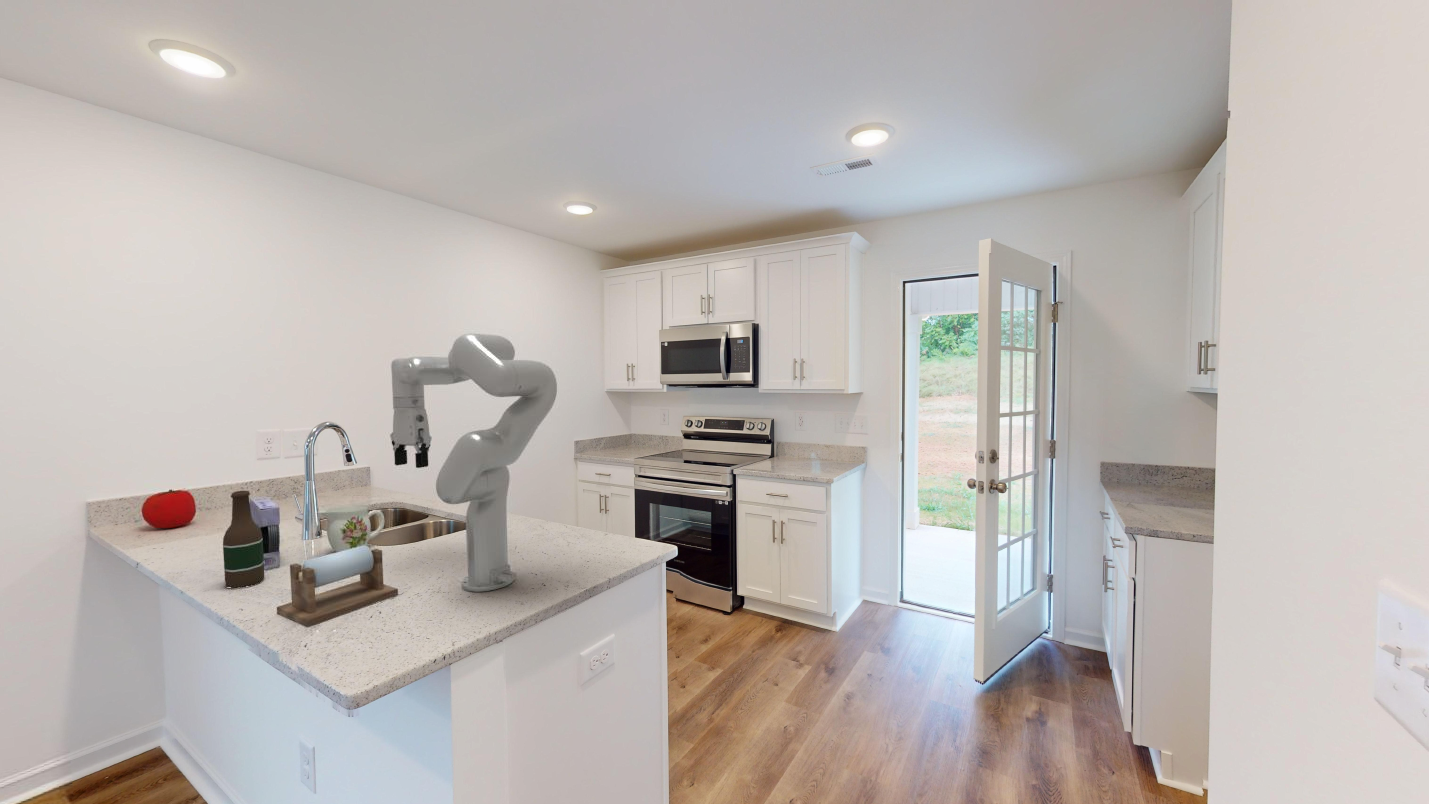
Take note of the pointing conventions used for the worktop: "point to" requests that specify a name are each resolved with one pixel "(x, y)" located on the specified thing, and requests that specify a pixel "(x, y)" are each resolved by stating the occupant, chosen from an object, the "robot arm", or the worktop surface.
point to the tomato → (169, 509)
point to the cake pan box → (267, 529)
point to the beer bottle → (243, 545)
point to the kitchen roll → (340, 565)
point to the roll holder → (333, 594)
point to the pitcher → (350, 526)
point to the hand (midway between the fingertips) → (411, 465)
